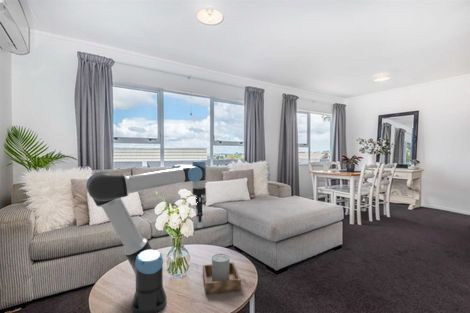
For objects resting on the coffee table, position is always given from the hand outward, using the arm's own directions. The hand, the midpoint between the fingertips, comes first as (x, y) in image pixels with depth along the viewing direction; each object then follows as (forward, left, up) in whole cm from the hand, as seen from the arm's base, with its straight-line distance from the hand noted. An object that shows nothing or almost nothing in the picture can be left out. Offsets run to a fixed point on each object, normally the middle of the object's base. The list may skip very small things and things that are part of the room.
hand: (199, 223), depth 136 cm
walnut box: (+11, -12, -29) cm, 33 cm away
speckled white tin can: (+11, -12, -28) cm, 32 cm away
